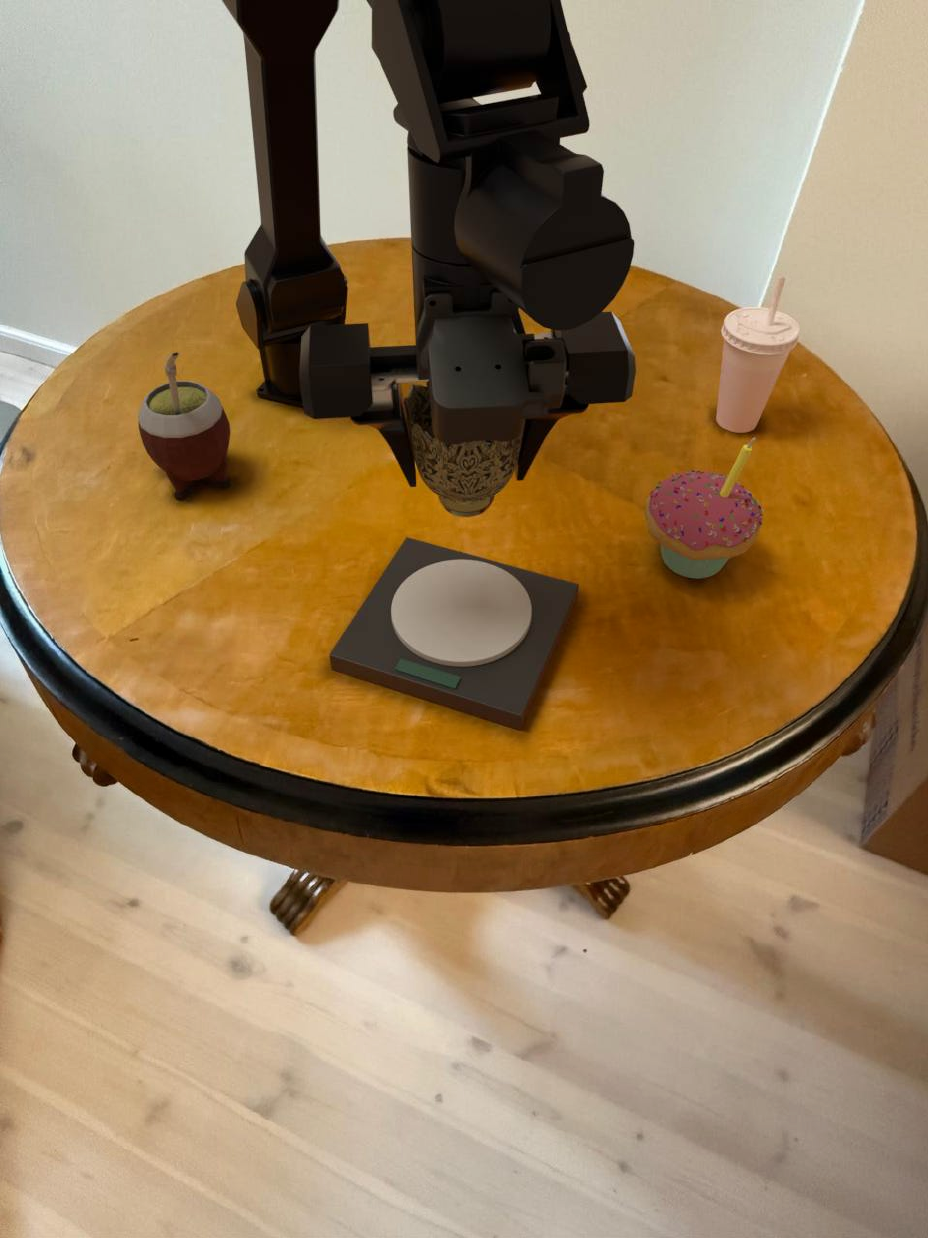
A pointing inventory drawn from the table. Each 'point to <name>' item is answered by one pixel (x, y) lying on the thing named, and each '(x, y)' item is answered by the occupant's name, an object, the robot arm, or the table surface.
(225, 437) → the mate gourd
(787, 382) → the table surface
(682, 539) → the cupcake
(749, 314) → the smoothie
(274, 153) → the robot arm
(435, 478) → the cup
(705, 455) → the table surface
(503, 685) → the scale
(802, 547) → the table surface
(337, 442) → the table surface
